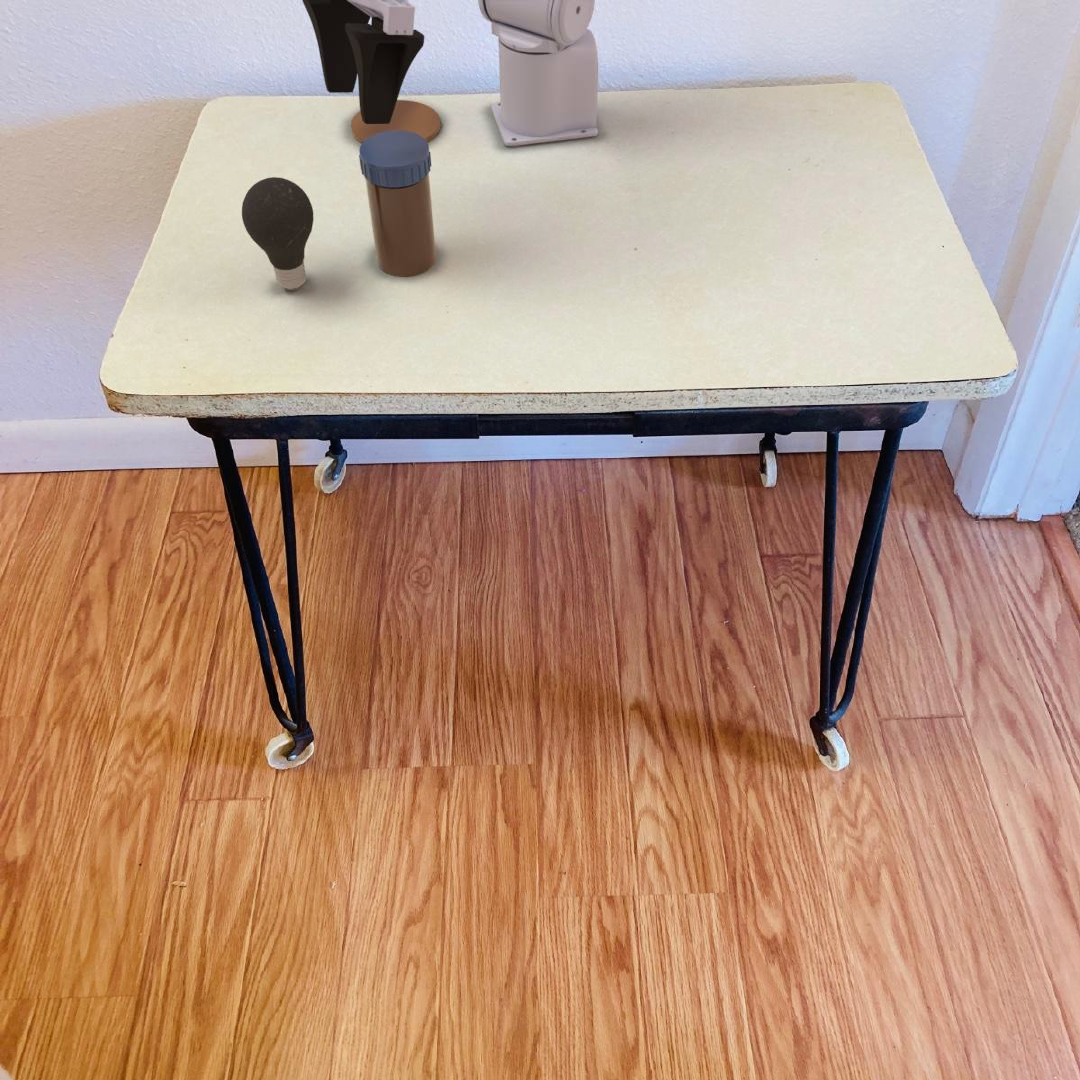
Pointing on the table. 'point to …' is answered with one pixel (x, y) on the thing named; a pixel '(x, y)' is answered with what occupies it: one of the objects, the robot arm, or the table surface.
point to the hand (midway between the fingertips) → (357, 106)
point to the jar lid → (395, 158)
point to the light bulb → (280, 226)
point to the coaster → (401, 121)
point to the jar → (403, 227)
